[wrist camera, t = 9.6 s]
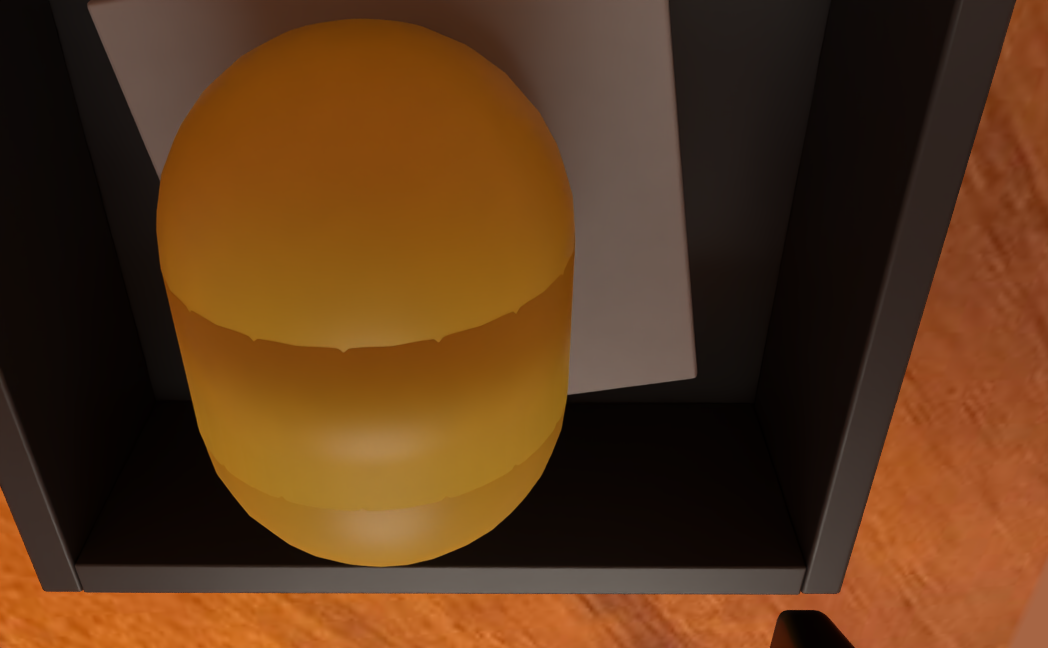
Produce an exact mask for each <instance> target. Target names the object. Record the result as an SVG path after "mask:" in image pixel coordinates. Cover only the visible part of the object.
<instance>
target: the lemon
mask: <svg viewBox="0 0 1048 648" xmlns="http://www.w3.org/2000/svg"><path fill="white" fill-rule="evenodd" d="M156 232H157V241H158V250H159V259H160V267H161V272H162V275H163V280H164V284H165V288H166V292H167V297H168V301H169V305H170V309H171V313H172V318H173V322H174V326H175V330H176V335H177V339H178V343H179V347H180V352H181V356H182V360H183V364H184V368H185V373H186V377H187V381H188V385H189V390H190V394H191V398H192V402H193V406H194V411H195V415H196V419H197V425H198V428H199V432H200V434H201V436H202V438H203V440H204V443H205V446H206V448H207V451H208V453H209V456H210V458H211V461H212V463H213V466H214V468H215V471H216V473H217V475H218V476H219V478H220V479H221V480H222V482H223V483H224V484H225V486H226V487H227V488H228V490H229V491H230V492H231V494H232V495H233V496H234V497H235V499H236V500H237V501H238V502H239V504H240V505H241V506H242V507H243V508H244V510H245V511H246V512H247V513H248V515H249V516H250V517H252V518H253V519H255V520H256V521H257V522H259V523H260V524H261V525H263V526H264V527H266V528H267V529H268V530H270V531H271V532H272V533H274V534H275V535H277V536H278V537H279V538H281V539H282V540H284V541H285V542H287V543H288V544H289V545H291V546H294V547H296V548H298V549H300V550H302V551H305V552H307V553H309V554H311V555H314V556H317V557H321V558H325V559H329V560H333V561H337V562H341V563H346V564H352V565H361V566H374V567H387V566H400V565H409V564H413V563H418V562H422V561H427V560H431V559H434V558H437V557H439V556H442V555H444V554H447V553H449V552H452V551H454V550H457V549H459V548H461V547H464V546H466V545H468V544H470V543H471V542H473V541H475V540H476V539H478V538H480V537H481V536H483V535H485V534H486V533H488V532H490V531H491V530H493V529H494V528H495V527H496V526H497V525H498V524H499V523H501V522H502V521H503V520H504V519H505V518H506V517H507V516H508V515H510V514H511V513H512V512H513V511H514V509H515V508H516V507H517V506H518V505H519V504H520V503H521V502H522V501H523V499H524V498H525V497H526V496H527V495H528V493H529V492H530V491H531V489H532V488H533V486H534V485H535V484H536V482H537V481H538V480H539V478H540V477H541V475H542V473H543V471H544V469H545V467H546V465H547V463H548V460H549V458H550V456H551V454H552V452H553V449H554V447H555V444H556V442H557V439H558V437H559V434H560V432H561V429H562V423H563V417H564V412H565V406H566V400H567V392H568V380H569V359H570V339H571V319H572V298H573V278H574V257H575V222H574V206H573V195H572V191H571V188H570V184H569V181H568V177H567V174H566V171H565V167H564V164H563V160H562V157H561V154H560V151H559V149H558V146H557V143H556V142H555V140H554V138H553V136H552V134H551V132H550V131H549V129H548V127H547V125H546V123H545V121H544V120H543V118H542V116H541V114H540V112H539V111H538V110H537V109H536V108H535V106H534V105H533V104H532V103H531V102H530V101H529V100H528V98H527V97H526V96H525V95H524V94H523V93H522V91H521V90H520V89H519V88H518V87H517V86H516V85H515V83H514V82H513V81H512V80H511V79H510V78H509V76H508V75H507V74H506V73H505V72H503V71H502V70H501V69H499V68H498V67H497V66H495V65H494V64H492V63H491V62H490V61H488V60H487V59H486V58H484V57H483V56H482V55H480V54H479V53H477V52H476V51H475V50H473V49H472V48H470V47H469V46H467V45H465V44H463V43H461V42H458V41H456V40H454V39H451V38H449V37H446V36H444V35H442V34H439V33H437V32H435V31H432V30H430V29H427V28H425V27H422V26H419V25H415V24H411V23H405V22H400V21H391V20H380V19H343V20H336V21H329V22H322V23H316V24H311V25H306V26H303V27H299V28H296V29H293V30H290V31H288V32H285V33H283V34H281V35H279V36H277V37H275V38H273V39H271V40H269V41H267V42H266V43H264V44H262V45H260V46H258V47H256V48H254V49H252V50H251V51H249V52H247V53H246V54H244V55H242V56H241V57H240V58H238V59H237V60H236V61H235V62H234V63H233V64H232V65H231V66H230V67H229V68H227V69H226V70H225V71H224V72H223V73H222V74H221V75H220V76H219V77H218V78H216V79H215V80H214V81H213V82H212V83H211V84H210V85H209V86H208V87H207V88H206V89H205V90H204V91H203V92H202V94H201V95H200V97H199V98H198V100H197V101H196V103H195V104H194V106H193V107H192V109H191V110H190V112H189V113H188V115H187V116H186V118H185V119H184V120H183V122H182V124H181V126H180V128H179V130H178V132H177V134H176V136H175V138H174V141H173V144H172V146H171V149H170V152H169V155H168V157H167V160H166V163H165V165H164V168H163V171H162V173H161V180H160V188H159V196H158V204H157V218H156Z"/></svg>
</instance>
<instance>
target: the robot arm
mask: <svg viewBox="0 0 1048 648" xmlns="http://www.w3.org/2000/svg"><path fill="white" fill-rule="evenodd" d="M770 648H854V646H853V645H852V644H851V643H850V642H849V641H848V639H847V638H846V637H845V636H844V635H843V634H842V633H841V631H840V630H839V629H838V628H837V627H836V626H835V625H834V623H833V622H832V621H831V620H830V619H829V618H828V617H827V616H826V615H825V614H823V613H822V612H820V611H815V610H786V611H783V612H782V613H781V614H780V615H779V617H778V619H777V622H776V626H775V630H774V634H773V638H772V642H771V646H770Z"/></svg>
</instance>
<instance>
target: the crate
mask: <svg viewBox="0 0 1048 648" xmlns="http://www.w3.org/2000/svg"><path fill="white" fill-rule="evenodd" d="M89 1H90V0H0V486H1V489H2V491H3V493H4V496H5V498H6V501H7V503H8V506H9V508H10V511H11V513H12V515H13V518H14V520H15V523H16V525H17V528H18V530H19V532H20V535H21V537H22V540H23V542H24V545H25V547H26V549H27V552H28V554H29V557H30V559H31V562H32V564H33V566H34V569H35V571H36V574H37V576H38V579H39V581H40V583H41V586H42V588H43V590H44V591H47V592H80V591H82V590H84V592H119V593H455V594H791V595H798V594H800V591H801V592H802V593H805V594H837V593H839V592H840V590H841V587H842V583H843V580H844V576H845V573H846V570H847V566H848V563H849V560H850V556H851V553H852V550H853V546H854V543H855V539H856V536H857V533H858V529H859V526H860V523H861V519H862V516H863V513H864V509H865V506H866V503H867V499H868V496H869V492H870V489H871V486H872V482H873V479H874V476H875V472H876V469H877V466H878V462H879V459H880V456H881V452H882V449H883V445H884V442H885V439H886V435H887V432H888V429H889V425H890V422H891V419H892V415H893V412H894V409H895V405H896V402H897V398H898V395H899V392H900V388H901V385H902V382H903V378H904V375H905V372H906V368H907V365H908V361H909V358H910V355H911V351H912V348H913V345H914V341H915V338H916V335H917V331H918V328H919V325H920V321H921V318H922V314H923V311H924V308H925V304H926V301H927V298H928V294H929V291H930V288H931V284H932V281H933V278H934V274H935V271H936V267H937V264H938V261H939V257H940V254H941V251H942V247H943V244H944V241H945V237H946V234H947V230H948V227H949V224H950V220H951V217H952V214H953V210H954V207H955V204H956V200H957V197H958V194H959V190H960V187H961V183H962V180H963V177H964V173H965V170H966V167H967V163H968V160H969V157H970V153H971V150H972V147H973V143H974V140H975V136H976V133H977V130H978V126H979V123H980V120H981V116H982V113H983V110H984V106H985V103H986V100H987V96H988V93H989V89H990V86H991V83H992V79H993V76H994V73H995V69H996V66H997V63H998V59H999V56H1000V52H1001V49H1002V46H1003V42H1004V39H1005V36H1006V32H1007V29H1008V26H1009V22H1010V19H1011V16H1012V12H1013V9H1014V5H1015V2H1016V0H669V11H670V24H671V37H672V50H673V63H674V76H675V89H676V102H677V115H678V127H679V140H680V153H681V166H682V179H683V192H684V205H685V218H686V231H687V244H688V257H689V270H690V283H691V295H692V308H693V321H694V334H695V347H696V360H697V376H696V377H695V378H692V379H684V380H676V381H669V382H661V383H654V384H646V385H639V386H631V387H624V388H616V389H608V390H601V391H593V392H586V393H578V394H571V395H567V400H566V406H565V412H564V417H563V423H562V429H561V432H560V434H559V437H558V439H557V442H556V444H555V447H554V449H553V452H552V454H551V456H550V458H549V460H548V463H547V465H546V467H545V469H544V471H543V473H542V475H541V477H540V478H539V480H538V481H537V482H536V484H535V485H534V486H533V488H532V489H531V491H530V492H529V493H528V495H527V496H526V497H525V498H524V499H523V501H522V502H521V503H520V504H519V505H518V506H517V507H516V508H515V509H514V511H513V512H512V513H511V514H510V515H508V516H507V517H506V518H505V519H504V520H503V521H502V522H501V523H499V524H498V525H497V526H496V527H495V528H494V529H493V530H491V531H490V532H488V533H486V534H485V535H483V536H481V537H480V538H478V539H476V540H475V541H473V542H471V543H470V544H468V545H466V546H464V547H461V548H459V549H457V550H454V551H452V552H449V553H447V554H444V555H442V556H439V557H437V558H434V559H431V560H427V561H422V562H418V563H413V564H409V565H400V566H387V567H374V566H361V565H352V564H346V563H341V562H337V561H333V560H329V559H325V558H321V557H317V556H314V555H311V554H309V553H307V552H305V551H302V550H300V549H298V548H296V547H294V546H291V545H289V544H288V543H287V542H285V541H284V540H282V539H281V538H279V537H278V536H277V535H275V534H274V533H272V532H271V531H270V530H268V529H267V528H266V527H264V526H263V525H261V524H260V523H259V522H257V521H256V520H255V519H253V518H252V517H250V516H249V515H248V513H247V512H246V511H245V510H244V508H243V507H242V506H241V505H240V504H239V502H238V501H237V500H236V499H235V497H234V496H233V495H232V494H231V492H230V491H229V490H228V488H227V487H226V486H225V484H224V483H223V482H222V480H221V479H220V478H219V476H218V475H217V473H216V471H215V468H214V466H213V463H212V461H211V458H210V456H209V453H208V451H207V448H206V446H205V443H204V440H203V438H202V436H201V434H200V432H199V428H198V425H197V419H196V415H195V411H194V406H193V402H192V398H191V394H190V390H189V385H188V381H187V377H186V373H185V368H184V364H183V360H182V356H181V352H180V347H179V343H178V339H177V335H176V330H175V326H174V322H173V318H172V313H171V309H170V305H169V301H168V297H167V292H166V288H165V284H164V280H163V275H162V272H161V267H160V259H159V250H158V241H157V232H156V218H157V204H158V196H159V188H160V180H159V177H158V175H157V172H156V170H155V168H154V165H153V163H152V160H151V158H150V156H149V153H148V151H147V149H146V146H145V144H144V141H143V139H142V137H141V134H140V132H139V129H138V127H137V125H136V122H135V120H134V117H133V115H132V113H131V110H130V108H129V106H128V103H127V101H126V98H125V96H124V94H123V91H122V89H121V86H120V84H119V82H118V79H117V77H116V74H115V72H114V70H113V67H112V65H111V63H110V60H109V58H108V55H107V53H106V51H105V48H104V46H103V43H102V41H101V39H100V36H99V34H98V31H97V29H96V27H95V24H94V22H93V20H92V17H91V15H90V12H89V10H88V6H87V3H88V2H89Z"/></svg>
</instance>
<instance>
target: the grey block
mask: <svg viewBox="0 0 1048 648" xmlns="http://www.w3.org/2000/svg"><path fill="white" fill-rule="evenodd" d="M87 6H88V10H89V12H90V15H91V17H92V20H93V22H94V24H95V27H96V29H97V31H98V34H99V36H100V39H101V41H102V43H103V46H104V48H105V51H106V53H107V55H108V58H109V60H110V63H111V65H112V67H113V70H114V72H115V74H116V77H117V79H118V82H119V84H120V86H121V89H122V91H123V94H124V96H125V98H126V101H127V103H128V106H129V108H130V110H131V113H132V115H133V117H134V120H135V122H136V125H137V127H138V129H139V132H140V134H141V137H142V139H143V141H144V144H145V146H146V149H147V151H148V153H149V156H150V158H151V160H152V163H153V165H154V168H155V170H156V172H157V175H158V177H159V180H161V173H162V171H163V168H164V165H165V163H166V160H167V157H168V155H169V152H170V149H171V146H172V144H173V141H174V138H175V136H176V134H177V132H178V130H179V128H180V126H181V124H182V122H183V120H184V119H185V118H186V116H187V115H188V113H189V112H190V110H191V109H192V107H193V106H194V104H195V103H196V101H197V100H198V98H199V97H200V95H201V94H202V92H203V91H204V90H205V89H206V88H207V87H208V86H209V85H210V84H211V83H212V82H213V81H214V80H215V79H216V78H218V77H219V76H220V75H221V74H222V73H223V72H224V71H225V70H226V69H227V68H229V67H230V66H231V65H232V64H233V63H234V62H235V61H236V60H237V59H238V58H240V57H241V56H242V55H244V54H246V53H247V52H249V51H251V50H252V49H254V48H256V47H258V46H260V45H262V44H264V43H266V42H267V41H269V40H271V39H273V38H275V37H277V36H279V35H281V34H283V33H285V32H288V31H290V30H293V29H296V28H299V27H303V26H306V25H311V24H316V23H322V22H329V21H336V20H343V19H380V20H391V21H400V22H405V23H411V24H415V25H419V26H422V27H425V28H427V29H430V30H432V31H435V32H437V33H439V34H442V35H444V36H446V37H449V38H451V39H454V40H456V41H458V42H461V43H463V44H465V45H467V46H469V47H470V48H472V49H473V50H475V51H476V52H477V53H479V54H480V55H482V56H483V57H484V58H486V59H487V60H488V61H490V62H491V63H492V64H494V65H495V66H497V67H498V68H499V69H501V70H502V71H503V72H505V73H506V74H507V75H508V76H509V78H510V79H511V80H512V81H513V82H514V83H515V85H516V86H517V87H518V88H519V89H520V90H521V91H522V93H523V94H524V95H525V96H526V97H527V98H528V100H529V101H530V102H531V103H532V104H533V105H534V106H535V108H536V109H537V110H538V111H539V112H540V114H541V116H542V118H543V120H544V121H545V123H546V125H547V127H548V129H549V131H550V132H551V134H552V136H553V138H554V140H555V142H556V143H557V146H558V149H559V151H560V154H561V157H562V160H563V164H564V167H565V171H566V174H567V177H568V181H569V184H570V188H571V191H572V195H573V206H574V222H575V257H574V278H573V298H572V319H571V339H570V359H569V380H568V392H567V395H571V394H578V393H586V392H593V391H601V390H608V389H616V388H624V387H631V386H639V385H646V384H654V383H661V382H669V381H676V380H684V379H692V378H695V377H696V376H697V360H696V347H695V334H694V321H693V308H692V295H691V283H690V270H689V257H688V244H687V231H686V218H685V205H684V192H683V179H682V166H681V153H680V140H679V127H678V115H677V102H676V89H675V76H674V63H673V50H672V37H671V24H670V11H669V0H90V1H89V2H88V3H87Z"/></svg>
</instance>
